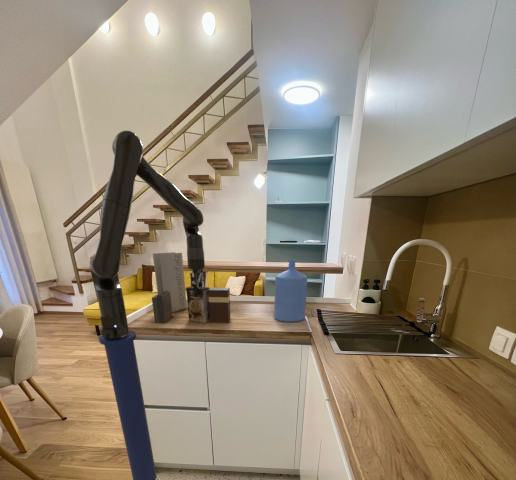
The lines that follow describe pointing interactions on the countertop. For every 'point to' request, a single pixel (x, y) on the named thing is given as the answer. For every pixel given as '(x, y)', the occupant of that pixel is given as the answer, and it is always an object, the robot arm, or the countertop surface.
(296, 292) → the water jug
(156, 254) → the tall grey box
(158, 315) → the grey books
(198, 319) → the coffee box
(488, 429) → the countertop surface
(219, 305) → the box
